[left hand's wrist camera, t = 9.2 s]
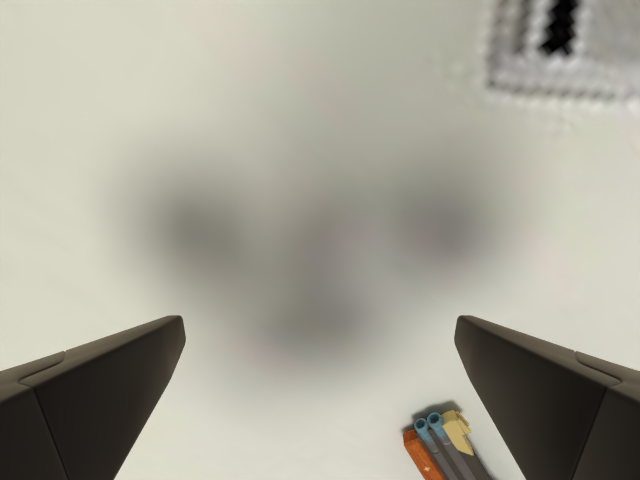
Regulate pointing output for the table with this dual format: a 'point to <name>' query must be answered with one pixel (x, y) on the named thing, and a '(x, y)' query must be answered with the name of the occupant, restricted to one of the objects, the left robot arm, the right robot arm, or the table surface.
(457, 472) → the toy gun
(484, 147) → the table surface
